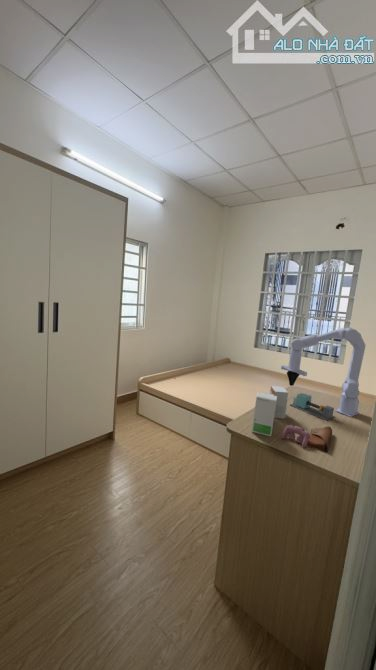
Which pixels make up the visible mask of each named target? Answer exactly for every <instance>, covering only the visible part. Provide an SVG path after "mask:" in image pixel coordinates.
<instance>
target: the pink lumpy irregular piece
mask: <svg viewBox="0 0 376 670" xmlns="http://www.w3.org/2000/svg"><path fill="white" fill-rule="evenodd" d="M296 435H297V437H296ZM287 436H288V437H289V439H290V440H295V439H296V441H297V442H298V443H299V444H301V447H302V449H304V448H306V447H307V446H306V445H307V443H308V440H309V438H310V433H309V432H308V431H307V430H306V429H304V428H302V427H301V426H298V425H293V424H289V425H287V426H286V427H285V428H284V430H283V432H282V434H281V436H280V437H281V439H282V440H284V439H286V437H287Z"/></svg>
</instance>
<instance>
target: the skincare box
mask: <svg viewBox="0 0 376 670" xmlns="http://www.w3.org/2000/svg"><path fill="white" fill-rule="evenodd" d="M264 393H265V392H260V391H259V392H258V391H257V393H256V398H255V404H254V405H255V406H254V412H253V417H252V425H251V432H252V433H255V434H258V435H263V436H266V437H267V436H268V437H270V438H271V437H272V435H273V434H272V433H273V427H274V421H275V418H274V416H275V409H276V403H277V396H273V395H269V394H270V393H269V394H264Z"/></svg>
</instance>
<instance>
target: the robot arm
mask: <svg viewBox="0 0 376 670" xmlns="http://www.w3.org/2000/svg"><path fill="white" fill-rule="evenodd" d="M331 339H342V340H346V341H347V342H349V343H350V345H351V346H352V352H351V356H350V362H349V367H348V371H347V375H346V377H345V380H344V382H343V383H342V385H341V389H342V390H343V391H342V392H341V395H340V398H339V399H340V400H339V407H338V408H337V409H334V411H335V412H337V413H340V414H343V415H345V416H348V417H349V418H350V417H351V418H353V417H354V416H356V415H359V414H360V412H359V411H358V410H359V405H360V400H359V395H360V389H359V385H360V384H359V379H360V373H361V369H362V365H363V360H364V355H365V351H366V343H365V341H364V339H363V337H362V334H361V333H360V332H359V331H358V330H357V329H355V328H352V327H349V326H348V327H344V328H343V327H342V328H338V329H334V330H331V331H329V332H328V331H327V332H325V333H321V334H319V335H316V334H315V333H313V334H312V333H309V334H308V335H306V336H303V337H302V336H300V337H298V338H294V339H293V340H291V342H290V344H291V345H290V346H291V348H290V353H289V359H288V360H289V362H288V366H287V365H284V364H283V365H280V370H284V371H287V372H286V375H287V378H288V383H289V386H291V387H292V386H294V385H295V383H296V382H297V379H298V377H300V376H303V377H307V375H308V372H307V371H304V370H301V367H300V366H301V361H302V356H303V355H302V354H303V353H302V350H303V349H306V348H309V347H315V346H316V345H318V344H319V342H323V341H327V340H331Z"/></svg>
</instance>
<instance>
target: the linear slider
mask: <svg viewBox="0 0 376 670" xmlns="http://www.w3.org/2000/svg"><path fill="white" fill-rule="evenodd" d="M296 398H297V395H296V396H293V401H292V402H293V403H292V404H295V405H296ZM307 405H310V407H312V408H315V409H317V410H319V411H321V412H322V416H323V417H325V418H327V419H329V418H332V417H333V416H334V411H335V407H332V406H330V405H325V406H324V405H323V404H322V405H318V404H316V403H313V402H312V401H311V402H308V401H307ZM332 419H333V418H332ZM329 420H330V419H329Z"/></svg>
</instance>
